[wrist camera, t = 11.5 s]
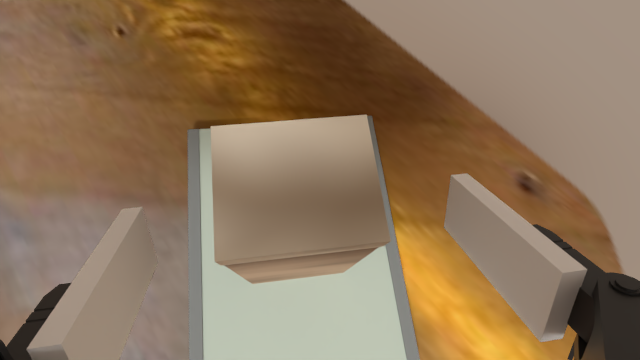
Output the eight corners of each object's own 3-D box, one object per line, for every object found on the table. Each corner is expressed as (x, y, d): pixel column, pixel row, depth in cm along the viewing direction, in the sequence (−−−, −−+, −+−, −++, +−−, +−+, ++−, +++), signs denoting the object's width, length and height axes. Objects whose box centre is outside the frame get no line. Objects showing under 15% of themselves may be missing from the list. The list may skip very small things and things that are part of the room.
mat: (191, 136, 28) (187, 129, 27) (369, 122, 29) (371, 115, 28) (194, 403, 22) (189, 407, 21) (416, 367, 23) (422, 370, 22)
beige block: (246, 209, 25) (210, 126, 14) (333, 200, 26) (366, 114, 14) (251, 285, 23) (214, 261, 12) (343, 273, 24) (391, 241, 13)
